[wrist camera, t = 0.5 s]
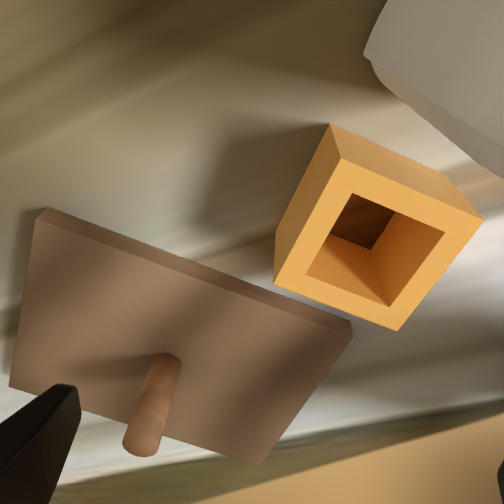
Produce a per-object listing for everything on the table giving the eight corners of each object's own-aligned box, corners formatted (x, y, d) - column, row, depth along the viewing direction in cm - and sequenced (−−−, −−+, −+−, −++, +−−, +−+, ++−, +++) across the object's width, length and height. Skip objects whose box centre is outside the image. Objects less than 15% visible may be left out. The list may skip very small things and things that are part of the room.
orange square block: (443, 174, 18) (484, 220, 15) (377, 271, 21) (397, 331, 17) (329, 123, 18) (341, 158, 14) (275, 230, 20) (273, 284, 16)
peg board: (349, 321, 23) (368, 421, 17) (260, 449, 29) (254, 552, 23) (48, 207, 20) (-36, 281, 15) (19, 371, 26) (-49, 465, 21)
